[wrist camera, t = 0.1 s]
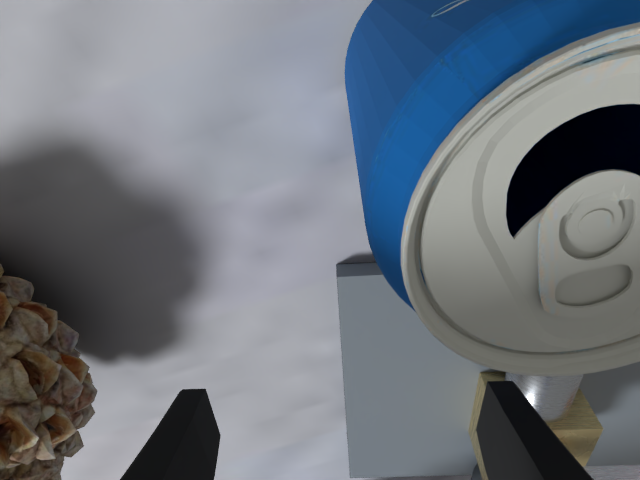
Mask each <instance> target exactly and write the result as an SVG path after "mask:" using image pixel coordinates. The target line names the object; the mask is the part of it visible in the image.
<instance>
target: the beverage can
mask: <svg viewBox="0 0 640 480" xmlns="http://www.w3.org/2000/svg"><path fill="white" fill-rule="evenodd" d="M345 85H346V92H347V99H348V106H349V113H350V120H351V127H352V134H353V141H354V148H355V155H356V162H357V169H358V176H359V183H360V190H361V197H362V204H363V211H364V218H365V225H366V230H367V235H368V240H369V244H370V247H371V250H372V253H373V255H374V258H375V261H376V263H377V265H378V267H379V268H380V270H381V272H382V274H383V275H384V277H385V279H386V280H387V282H388V283H389V285H390V286H391V287H392V288H393V290H394V291H395V292H396V293H397V295H398V296H399V297H400V298H401V299H402V300H403V301H404V302H405V303H406V304H407V305H409V306H410V307H411V308H412V309H413V310H414V311H415V312H416V313H417V315H418V317H419V318H420V320H421V321H422V323H423V324H424V325H425V326H426V328H427V329H428V330H429V331H430V333H431V334H432V335H433V336H434V337H436V338H437V339H438V340H439V341H440V342H441V343H442V344H443V345H445V346H446V347H447V348H449V349H450V350H452V351H453V352H455V353H456V354H458V355H460V356H462V357H464V358H466V359H468V360H470V361H472V362H474V363H477V364H479V365H482V366H485V367H488V368H491V369H495V370H499V371H503V372H508V373H513V374H521V375H529V376H571V375H580V374H588V373H595V372H600V371H605V370H609V369H614V368H619V367H622V366H625V365H629V364H632V363H636V362H639V361H640V0H373V1H372V2H371V3H370V5H369V6H368V7H367V9H366V10H365V11H364V13H363V15H362V16H361V18H360V20H359V21H358V23H357V25H356V27H355V30H354V32H353V34H352V37H351V40H350V43H349V46H348V50H347V56H346V61H345Z"/></svg>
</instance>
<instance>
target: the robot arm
mask: <svg viewBox="0 0 640 480" xmlns="http://www.w3.org/2000/svg"><path fill="white" fill-rule="evenodd" d="M476 432H477V436H478V441H479V445H480V450H481V454H482V458H483V462H484V466H485V470H486V474H487V477H488V480H594V479H593V478H592V477H591V476H590V475H589V474H588V473H587V471H586V470H585V469H584V468H583V467H582V466H581V464H580V463H579V462H578V461H577V460H576V459H575V457H574V456H573V455H572V454H571V453H570V452H569V450H568V449H567V448H566V447H565V446H564V444H563V443H562V442H561V441H560V440H559V438H558V437H557V436H556V435H555V434H554V432H553V431H552V430H551V429H550V427H549V426H548V425H547V424H546V422H545V421H544V420H543V419H542V417H541V416H540V415H539V414H538V412H537V411H536V410H535V408H534V407H533V406H532V405H531V403H530V402H529V401H528V399H527V398H526V397H525V396H524V394H523V393H522V392H521V390H520V389H519V388H518V386H517V385H516V384H515V383H514V382H513V381H487V385H486V389H485V393H484V398H483V402H482V406H481V410H480V415H479V419H478V423H477V428H476ZM219 442H220V432H219V429H218V426H217V423H216V420H215V417H214V414H213V411H212V408H211V404H210V401H209V398H208V395H207V392H206V389H183V390H181V391H180V392H179V394H178V395H177V397H176V398H175V400H174V402H173V403H172V405H171V406H170V408H169V409H168V411H167V413H166V414H165V416H164V417H163V419H162V420H161V422H160V423H159V425H158V426H157V428H156V429H155V431H154V432H153V434H152V435H151V437H150V438H149V440H148V441H147V443H146V444H145V446H144V447H143V448H142V450H141V451H140V453H139V454H138V455H137V457H136V458H135V460H134V461H133V462H132V464H131V465H130V467H129V468H128V470H127V471H126V472H125V474H124V475H123V476H122V478H121V479H120V480H214V476H215V469H216V463H217V456H218V449H219Z"/></svg>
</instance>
